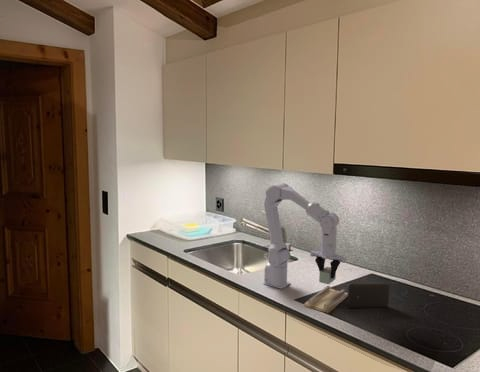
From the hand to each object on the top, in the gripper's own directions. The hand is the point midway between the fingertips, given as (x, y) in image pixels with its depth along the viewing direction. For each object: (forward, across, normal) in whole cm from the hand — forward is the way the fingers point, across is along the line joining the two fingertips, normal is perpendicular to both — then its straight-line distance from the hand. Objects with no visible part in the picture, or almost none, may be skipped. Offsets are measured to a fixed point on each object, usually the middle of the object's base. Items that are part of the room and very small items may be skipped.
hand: (327, 276), depth 161 cm
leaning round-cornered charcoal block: (+9, +17, 0) cm, 19 cm away
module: (+2, 0, 0) cm, 2 cm away
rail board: (+9, +2, -3) cm, 9 cm away
